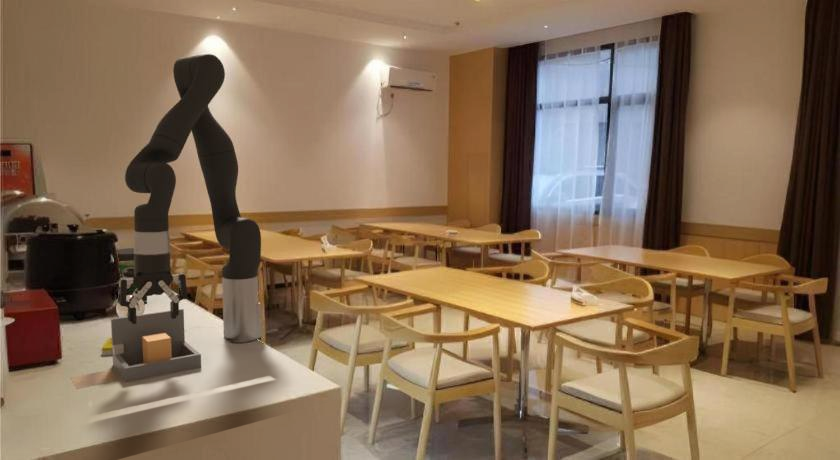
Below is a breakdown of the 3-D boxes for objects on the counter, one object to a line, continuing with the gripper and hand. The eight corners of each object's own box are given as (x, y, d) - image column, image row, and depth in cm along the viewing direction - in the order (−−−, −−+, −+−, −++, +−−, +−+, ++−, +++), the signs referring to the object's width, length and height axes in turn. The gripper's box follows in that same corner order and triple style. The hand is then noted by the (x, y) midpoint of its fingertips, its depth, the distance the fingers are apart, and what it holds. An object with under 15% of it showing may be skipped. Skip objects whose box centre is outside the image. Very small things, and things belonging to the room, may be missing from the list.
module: (165, 361, 141) (164, 332, 140) (172, 367, 137) (170, 337, 136) (143, 365, 138) (142, 336, 137) (148, 371, 134) (147, 341, 133)
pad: (111, 373, 136) (111, 369, 135) (118, 384, 129) (118, 380, 129) (70, 381, 131) (70, 377, 130) (76, 393, 124) (76, 388, 124)
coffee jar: (146, 298, 206) (144, 245, 204) (148, 304, 199) (145, 249, 197) (115, 301, 202) (112, 247, 199) (115, 307, 195) (112, 250, 192)
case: (184, 355, 148) (182, 308, 147) (201, 370, 138) (199, 320, 137) (113, 369, 138) (110, 318, 137) (126, 386, 128) (123, 332, 127)
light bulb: (111, 340, 160) (109, 296, 159) (132, 333, 166) (130, 291, 165) (131, 343, 157) (128, 299, 156) (151, 336, 164) (150, 293, 162)
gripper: (180, 246, 142) (181, 313, 144) (114, 250, 133) (116, 321, 135) (189, 250, 136) (190, 320, 138) (121, 255, 127) (123, 329, 129)
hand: (153, 320), depth 136 cm, fingers open, 8 cm apart
